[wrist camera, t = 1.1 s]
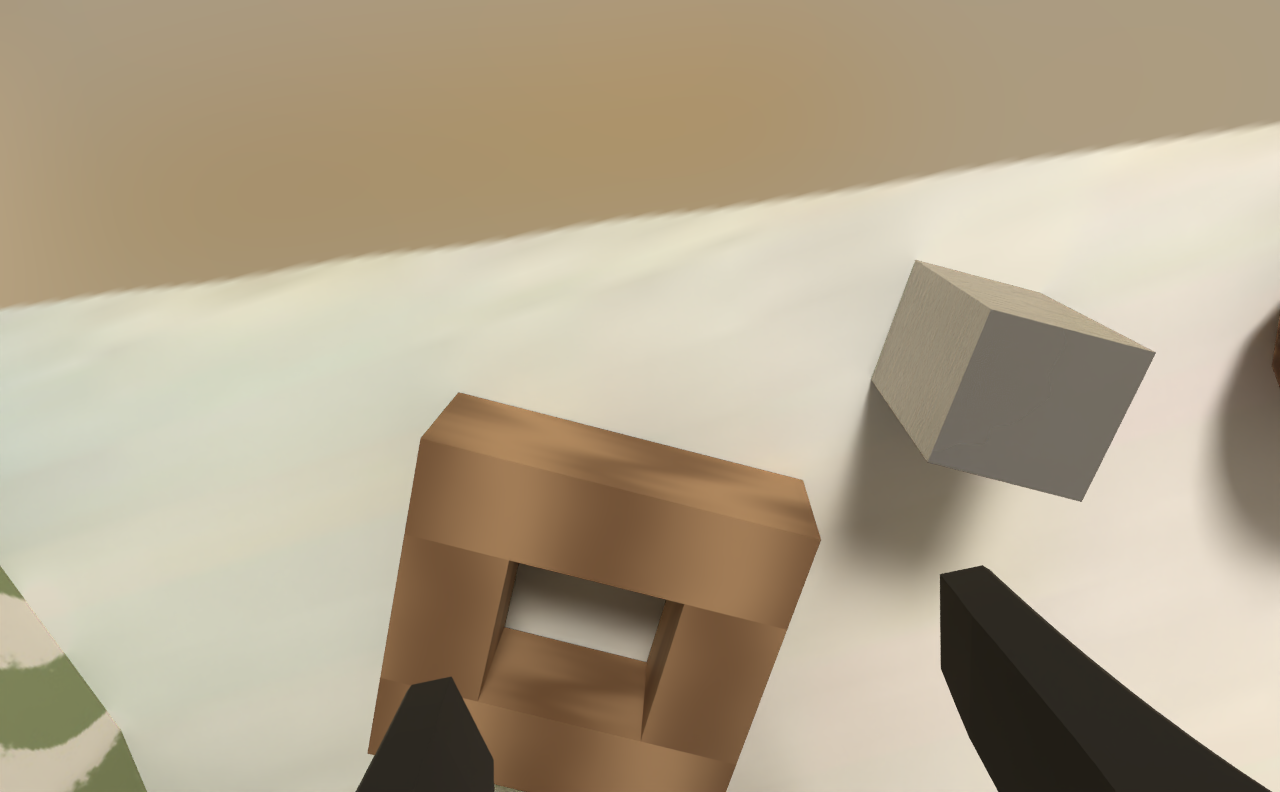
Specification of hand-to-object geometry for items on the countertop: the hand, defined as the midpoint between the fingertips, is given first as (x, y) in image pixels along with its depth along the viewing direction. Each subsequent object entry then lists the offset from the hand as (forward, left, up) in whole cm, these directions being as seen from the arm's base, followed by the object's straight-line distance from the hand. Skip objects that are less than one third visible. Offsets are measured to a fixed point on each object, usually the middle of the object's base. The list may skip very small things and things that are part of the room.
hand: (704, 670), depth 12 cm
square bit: (-8, -3, -15) cm, 17 cm away
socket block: (+1, +9, -15) cm, 18 cm away
